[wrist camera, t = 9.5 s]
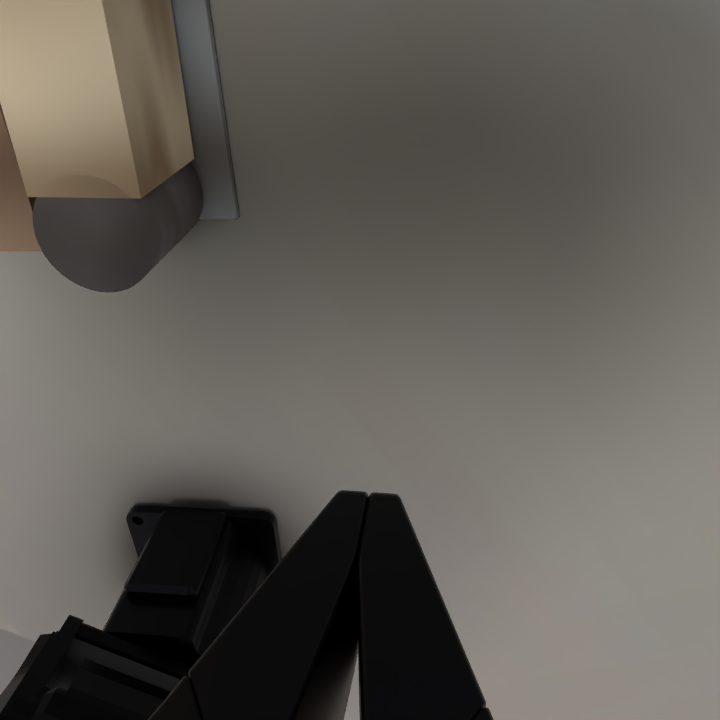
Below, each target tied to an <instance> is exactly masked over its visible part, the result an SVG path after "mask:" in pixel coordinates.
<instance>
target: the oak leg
mask: <svg viewBox="0 0 720 720" xmlns="http://www.w3.org/2000/svg"><path fill="white" fill-rule="evenodd" d="M0 104H1V107H2V111H3V114H4V117H5V121H6V124H7V128H8V131H9V135H10V138H11V142H12V145H13V148H14V152H15V155H16V159H17V162H18V166H19V169H20V173H21V176H22V179H23V183H24V186H25V190H26V193H27V197H37V198H36V201H35V204H34V208H33V218H32V220H33V228H34V233H35V236H36V239H37V242H38V244H39V246H40V248H41V250H42V252H43V253H44V255H45V256H46V258H47V259H48V260H49V262H50V263H51V264H52V265H53V266H54V267H55V268H56V269H57V270H58V271H59V272H60V273H61V274H62V275H63V276H65V277H66V278H68V279H69V280H71V281H72V282H74V283H76V284H78V285H80V286H82V287H84V288H87V289H90V290H94V291H99V292H117V291H122V290H125V289H128V288H130V287H132V286H134V285H135V284H137V283H138V282H139V281H140V280H141V279H142V278H143V277H144V276H145V275H146V274H147V273H148V272H149V271H150V270H151V269H152V268H153V267H154V266H155V265H156V264H157V263H158V262H159V261H160V260H161V259H162V258H163V257H164V256H165V255H166V254H167V253H168V252H169V251H170V250H171V249H172V248H173V247H174V246H175V245H176V244H177V243H178V242H179V241H180V240H181V239H182V238H183V237H184V236H185V235H186V234H187V233H188V232H189V231H190V230H191V229H192V228H193V226H194V225H195V224H196V222H197V221H198V219H199V217H200V214H201V211H202V206H203V192H202V187H201V183H200V180H199V178H198V176H197V173H196V171H195V170H194V168H193V167H192V165H191V164H190V161H192V160H193V159H194V153H193V146H192V140H191V133H190V126H189V120H188V113H187V106H186V100H185V93H184V86H183V80H182V73H181V66H180V60H179V53H178V47H177V40H176V33H175V27H174V20H173V13H172V7H171V0H0Z"/></svg>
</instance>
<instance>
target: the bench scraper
mask: <svg viewBox="0 0 720 720" xmlns="http://www.w3.org/2000/svg"><path fill="white" fill-rule="evenodd" d="M171 7H172V13H173V20H174V27H175V33H176V40H177V47H178V53H179V60H180V66H181V73H182V80H183V86H184V93H185V100H186V106H187V113H188V120H189V126H190V133H191V140H192V146H193V153H194V159H193V160H192V161H190V164H191V165H192V167H193V168H194V170H195V171H196V173H197V176H198V178H199V180H200V183H201V187H202V192H203V206H202V211H201V214H200V217H199V219H198V220H237V219H238V218H239V210H238V203H237V196H236V189H235V182H234V175H233V168H232V161H231V154H230V147H229V140H228V133H227V126H226V119H225V112H224V105H223V98H222V91H221V84H220V77H219V70H218V63H217V56H216V49H215V42H214V35H213V28H212V21H211V14H210V7H209V0H171ZM36 198H37V197H27V193H26V190H25V186H24V183H23V179H22V176H21V173H20V169H19V166H18V162H17V159H16V155H15V152H14V148H13V145H12V142H11V138H10V135H9V131H8V128H7V124H6V121H5V117H4V114H3V111H2V107H1V104H0V251H42V250H41V248H40V246H39V244H38V242H37V239H36V236H35V233H34V228H33V220H32V218H33V208H34V204H35V201H36Z"/></svg>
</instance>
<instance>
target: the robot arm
mask: <svg viewBox="0 0 720 720" xmlns="http://www.w3.org/2000/svg"><path fill="white" fill-rule="evenodd" d="M139 517H140V518H139ZM126 518H127V523H128V526H129V529H130V533H131V536H132V539H133V542H134V545H135V548H136V552H137V555H138V560H137V562H136V564H135V566H134V568H133V570H132V571H131V573H130V575H129V577H128V579H127V581H126V583H125V586H124V590H123V592H122V594H121V596H120V598H119V600H118V602H117V604H116V606H115V608H114V609H113V611H112V613H111V615H110V617H109V619H108V621H107V623H106V625H105V627H104V629H103V631H102V630H100V629H97V628H95V627H92V626H90V625H87V624H85V623H83V621H84V620H82V619H79V618H77V617H74V616H72V615H69V617H68V618H67V620H66V621H65V623H64V624H63V626H62V628H61V629H60V631H59V632H58V631H57V632H54V631H53V632H52V634H44V635H40V636H39V638H38V639H37V641H36V643H35V644H34V646H33V648H32V649H31V651H30V652H29V654H28V656H27V657H26V659H25V661H24V662H23V664H22V666H21V667H20V669H19V670H18V672H17V673H16V675H15V677H14V678H13V679H12V681H11V682H10V683H9V685H8V686H7V687H6V689H5V690H4V691H3V693H2V694H1V695H0V720H344V715H345V711H346V706H347V702H348V697H349V693H350V688H351V684H352V679H353V675H354V670H355V665H356V659H357V654H358V655H359V706H360V720H493V717H492V715H491V712H490V710H489V709H488V708H486V701H485V699H484V697H483V694H482V692H481V689H480V687H479V685H478V682H477V680H476V677H475V675H474V673H473V670H472V668H471V665H470V663H469V661H468V658H467V656H466V654H465V651H464V649H463V646H462V644H461V642H460V639H459V637H458V634H457V632H456V630H455V627H454V625H453V622H452V620H451V618H450V615H449V613H448V610H447V608H446V606H445V603H444V601H443V599H442V596H441V594H440V591H439V589H438V587H437V584H436V582H435V579H434V577H433V575H432V572H431V570H430V567H429V565H428V563H427V560H426V558H425V555H424V553H423V551H422V548H421V546H420V543H419V541H418V539H417V536H416V534H415V532H414V529H413V527H412V524H411V522H410V520H409V517H408V515H407V512H406V510H405V508H404V505H403V503H402V500H401V498H400V497H399V496H398V495H397V494H389V493H375V492H374V493H371V494H370V495H369V496H368V494H367V493H366V492H361V491H347V490H341V491H339V492H338V493H337V494H336V495H335V496H334V497H333V498H332V499H331V501H330V502H329V503H328V504H327V505H326V507H325V508H324V509H323V510H322V511H321V513H320V514H319V515H318V516H317V518H316V519H315V520H314V521H313V522H312V524H311V525H310V526H309V527H308V528H307V530H306V531H305V532H304V533H303V534H302V536H301V537H300V538H299V539H298V540H297V542H296V543H295V544H294V545H293V546H292V548H291V549H290V550H289V551H288V552H287V554H286V555H285V556H284V557H283V558H281V552H280V545H279V539H278V532H277V525H276V520H275V518H274V517H273V516H272V515H271V514H269V513H267V512H259V511H239V510H219V509H199V508H178V507H158V506H134V507H132V508H131V510H130V512H129V513H128V515H127V517H126ZM261 523H264V524H266V525H264V524H261Z"/></svg>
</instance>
